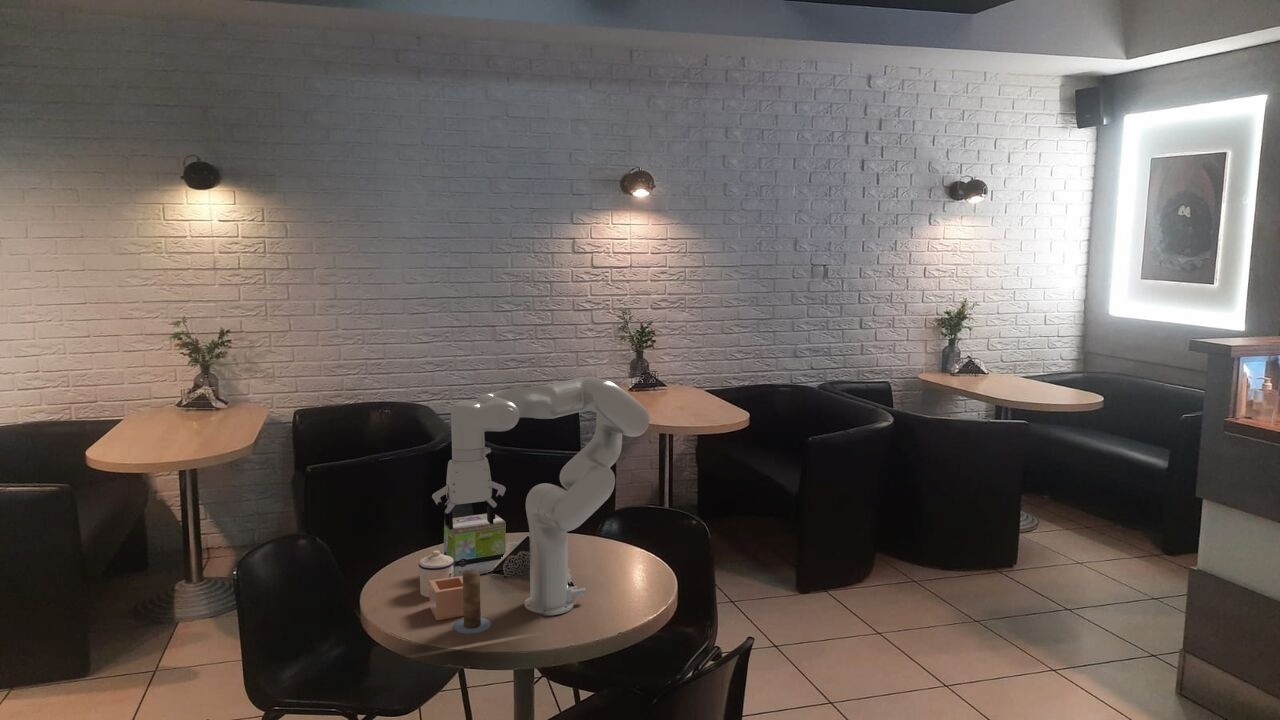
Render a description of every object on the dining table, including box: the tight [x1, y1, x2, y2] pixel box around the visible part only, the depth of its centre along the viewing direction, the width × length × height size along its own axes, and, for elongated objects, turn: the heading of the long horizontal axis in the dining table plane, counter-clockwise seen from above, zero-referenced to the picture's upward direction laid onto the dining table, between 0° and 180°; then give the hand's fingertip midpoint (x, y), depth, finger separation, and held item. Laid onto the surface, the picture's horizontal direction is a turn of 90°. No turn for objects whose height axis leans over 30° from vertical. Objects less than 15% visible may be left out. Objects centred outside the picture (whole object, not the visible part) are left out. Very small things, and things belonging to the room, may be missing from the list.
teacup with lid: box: [418, 550, 454, 598], centre depth 231 cm, size 12×9×12 cm
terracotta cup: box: [429, 576, 464, 621], centre depth 217 cm, size 8×8×8 cm
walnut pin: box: [463, 570, 482, 629], centre depth 208 cm, size 4×4×13 cm
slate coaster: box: [452, 617, 492, 634], centre depth 209 cm, size 9×9×1 cm
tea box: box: [443, 513, 507, 577], centre depth 247 cm, size 15×10×15 cm, turn 120°
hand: (470, 525), depth 206 cm, fingers open, 9 cm apart
